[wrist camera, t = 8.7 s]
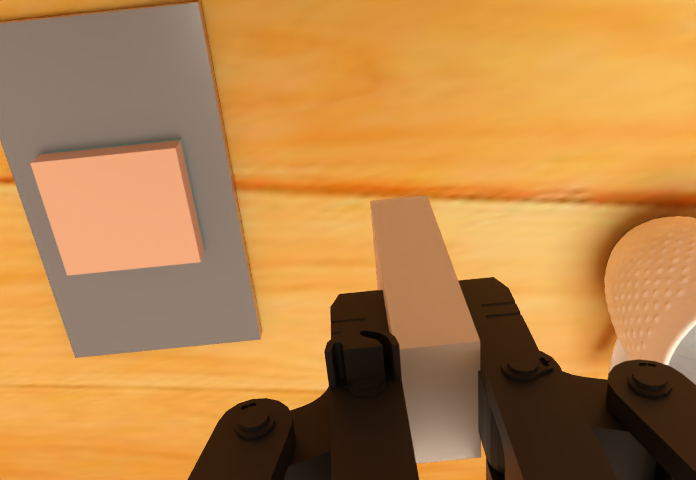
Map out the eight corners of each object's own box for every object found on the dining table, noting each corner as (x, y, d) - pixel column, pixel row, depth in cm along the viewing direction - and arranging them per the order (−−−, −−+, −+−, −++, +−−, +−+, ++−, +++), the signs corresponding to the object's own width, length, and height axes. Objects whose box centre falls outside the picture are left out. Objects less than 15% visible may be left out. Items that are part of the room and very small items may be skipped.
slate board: (-31, 24, 40) (-39, 27, 39) (200, 0, 40) (197, 2, 39) (79, 349, 51) (75, 357, 50) (261, 331, 51) (260, 339, 50)
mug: (650, 374, 54) (741, 504, 42) (529, 339, 52) (589, 464, 40) (759, 216, 48) (901, 316, 36) (626, 168, 46) (731, 258, 34)
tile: (181, 138, 42) (42, 152, 43) (175, 148, 41) (30, 163, 41) (205, 248, 46) (77, 261, 46) (200, 262, 44) (67, 275, 44)
